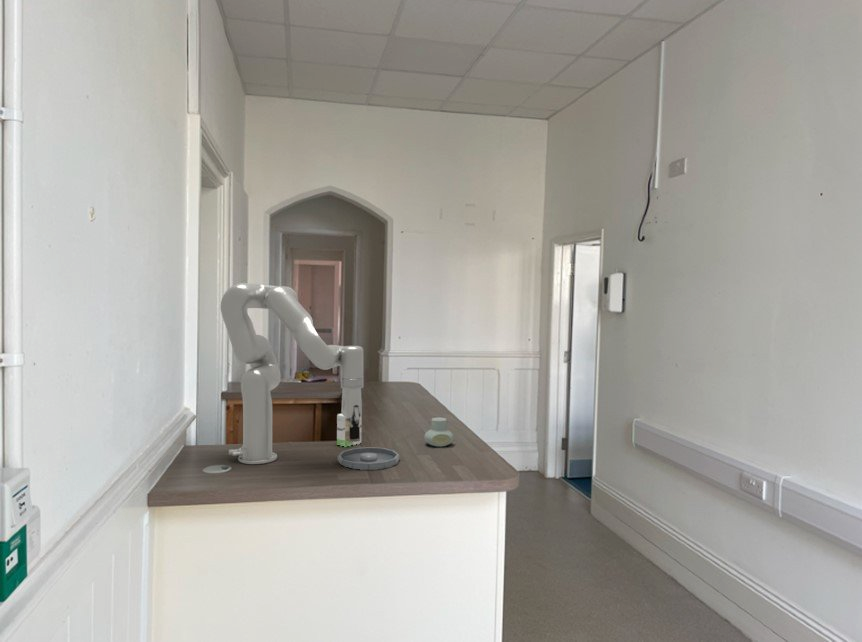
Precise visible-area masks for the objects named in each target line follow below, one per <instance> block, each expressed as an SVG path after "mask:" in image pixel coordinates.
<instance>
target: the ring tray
mask: <svg viewBox="0 0 862 642" xmlns="http://www.w3.org/2000/svg"><path fill="white" fill-rule="evenodd" d="M399 461H400V454H399V453H398V452H397V451H396V450H393V449H390V448H385V447H374V446H373V447H372V446H371V447H370V446H368V447H367V446H365V447H353V448H351V449H346V450H343V451H341V452H340V453H339V454H338V455H337V462H338V464H339V463H340V464H341V465H343V466H346V467H349V468H353V469H352V470H355V469H360V470H359V471H378V469H379V470H385V469H389V468H391V467H394V466H396V465H398V463H399ZM340 464H339V465H340ZM341 465H340V466H341ZM343 466H342V467H343ZM346 467H345V468H346ZM349 468H348V469H349Z"/></svg>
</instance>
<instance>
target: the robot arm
mask: <svg viewBox="0 0 862 642" xmlns="http://www.w3.org/2000/svg"><path fill="white" fill-rule="evenodd" d="M247 309H263V310H271V312H272V313H273V314H274V315H275V316H276V317H277V318H278V319H279V321H280V322H281V323H282V324H283V326H285V328H287V329H288V332H290V333H291V335H292V337H293V339H294V340H295V342H296V344H297V345H298V347H299V349H300V350H301V351H302V353H304V355H305V356H306V357H307V358H308V359H309V361H311V363H312V364H313V365H315V367H317V368H318V369H320V370H323V371H325V370H326V371H327V370H330V369H332V368H336V367H340V388H341V389H342V391H341V411H340V412H341V414H342V415H344V416H345V417H346V419H349V418H350V425H351V427H350V439H359V438H360V437H359V420H360V417H361V416H362V414H363V409H362V408H363V405H362V404H363V403H362V401H363V400H362V389H363V388H364V386H365V385H364V381H365V380H364V376H365V375H364V348H363V347H362V346H359V345H338V344H337V345H336V344H326V342H325V341H324V340H323V339H322V338H321V336H320V335H319V334H318V332H317V331H316V329H315V326H314V321H313V317H312V316H311V314H310V313H309V312H308V311H307V310H306V309H305V308H304V307H303V305H301V303H300V302H299V299H298V294H297V292H296V291H295V290H294V289H293V288H292V287H290V286H284V285H270V284H269V285H268V284H259V283H248V282H241V283H236V284H234V285H232V286H230V287H229V288H228V289H227V290H226V291H225V292H224V294H223V295H222V297H221V300H220V313H221V318H222V319H223V320H222V321H223V322H224V326H225V328H226V331H227V335H228V338H229V342H230V343H231V347H232V349H233V353H234V356H235V358H236V360H237V361H238V362H239V363H240V364H243V365H250V368H249V369H247V370H246V371H245V372H244V373H243V374H242V377H241V380H240V389H241V391H240V392H241V396H242V415H243V416H242V421H243V422H242V428H243V429H242V443H243V444H242V445H241V447H238V448H236V449H235V448H232V449H228V456H232V457H237V456H238V458H237V460H238V462H239V463H242V464H245V465H261V464H269V463H271V462H274V461H276V460H277V459H278V454H277V453H275V452H273V400H272V395H271V391H272V390H274V389H276V388H277V387H278V386H279V384H280V382H281V379H282V378H281V377H282V376H281V374H282V373H281V370H280V368H279V364H278V361H277V359H276V354H275V352H274V350H273V346H272V344H271V342H270V341H269V339H267V338H266V337H265V336H263V335H262V334H261V335H260V334H257V333H256V330H255V327H254V324H253V321H252V319H251V317H250V316H249V314H248V311H247ZM362 417H363V416H362Z"/></svg>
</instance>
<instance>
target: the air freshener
mask: <svg viewBox="0 0 862 642" xmlns="http://www.w3.org/2000/svg"><path fill="white" fill-rule="evenodd" d="M430 421H431V425H430V426H431V427H430V429H428V431H426V432H425V433H424V436H423V437H424V440H425V442H426V443H427V444H428V445H430V446H432V447H436V448H443V447H446V446H448V445H450V444H451V443H452V442H453V440H454V434H453V433H452V432H451V431H450V429H448V420H447V418H446V417H440V416H439V417H432V418H431V420H430Z"/></svg>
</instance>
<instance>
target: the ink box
mask: <svg viewBox="0 0 862 642" xmlns="http://www.w3.org/2000/svg"><path fill="white" fill-rule="evenodd" d="M362 417H363V416H361V417H360V441H357V442H347V441H345V419H346V417H345V416H344V415H342V413H337V415H336V424H337V425H336V446H337V445H340V446H339V447H342V446H344V447H343V448H348V447H347V446H349V447H352V446H351V445H353V446H357V445H361V444H362V423H363V422H362V421H363V420H362ZM360 443H361V444H360ZM356 444H357V445H356Z"/></svg>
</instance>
